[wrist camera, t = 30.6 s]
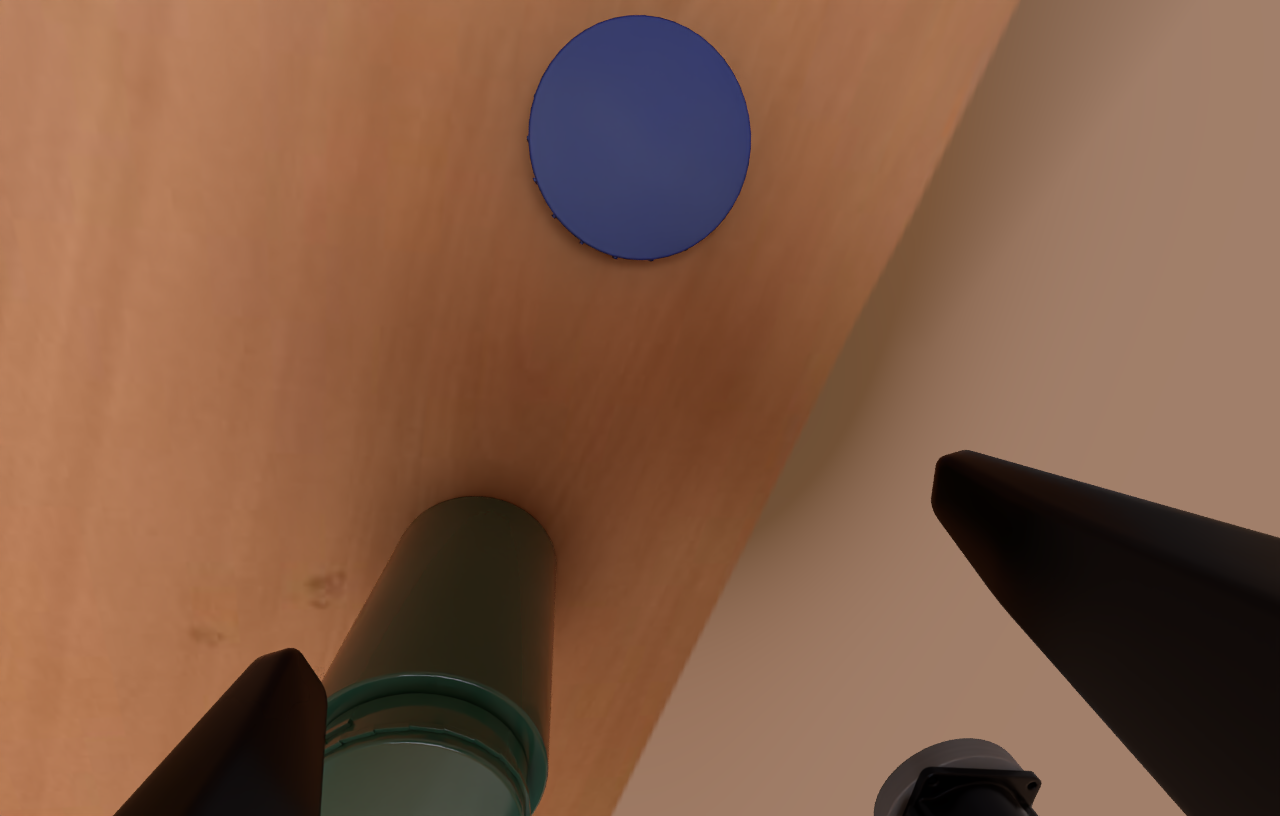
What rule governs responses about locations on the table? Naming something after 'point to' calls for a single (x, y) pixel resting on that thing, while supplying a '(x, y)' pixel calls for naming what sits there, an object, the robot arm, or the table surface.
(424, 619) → the jar
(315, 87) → the table surface
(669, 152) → the lid
